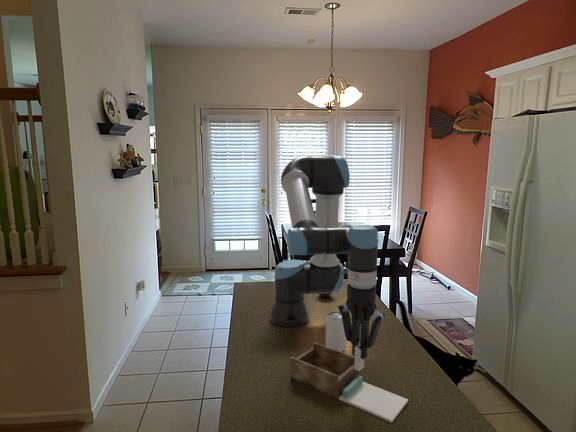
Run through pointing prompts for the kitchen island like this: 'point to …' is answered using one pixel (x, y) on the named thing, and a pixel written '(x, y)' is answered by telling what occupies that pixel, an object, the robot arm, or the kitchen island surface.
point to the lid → (373, 399)
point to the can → (335, 331)
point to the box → (324, 369)
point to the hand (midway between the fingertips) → (359, 367)
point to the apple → (325, 294)
